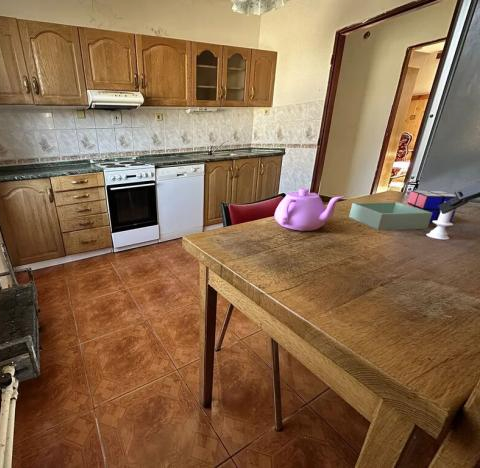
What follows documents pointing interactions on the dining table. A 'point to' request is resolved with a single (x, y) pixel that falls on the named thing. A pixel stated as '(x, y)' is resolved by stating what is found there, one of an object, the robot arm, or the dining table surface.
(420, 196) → the puzzle cube
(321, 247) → the dining table surface
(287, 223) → the teapot
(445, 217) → the candle
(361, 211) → the bin
